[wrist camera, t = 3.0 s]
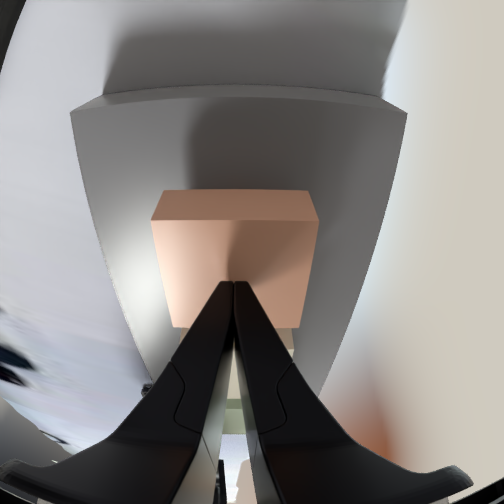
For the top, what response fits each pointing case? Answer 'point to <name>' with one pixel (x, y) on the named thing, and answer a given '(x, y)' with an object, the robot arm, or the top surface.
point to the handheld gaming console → (8, 23)
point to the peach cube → (235, 248)
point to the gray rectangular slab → (239, 177)
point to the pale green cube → (233, 418)
